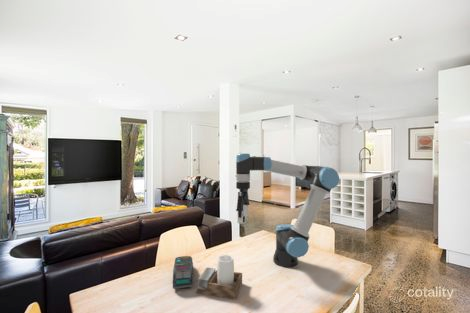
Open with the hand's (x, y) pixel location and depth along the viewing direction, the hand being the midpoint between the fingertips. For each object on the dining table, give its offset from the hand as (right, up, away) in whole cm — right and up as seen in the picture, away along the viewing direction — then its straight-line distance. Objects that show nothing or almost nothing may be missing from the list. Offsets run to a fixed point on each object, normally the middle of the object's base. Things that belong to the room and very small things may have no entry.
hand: (243, 219), depth 132 cm
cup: (-9, -31, -12) cm, 34 cm away
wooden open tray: (-12, -32, -11) cm, 36 cm away
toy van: (-33, -32, -1) cm, 46 cm away
